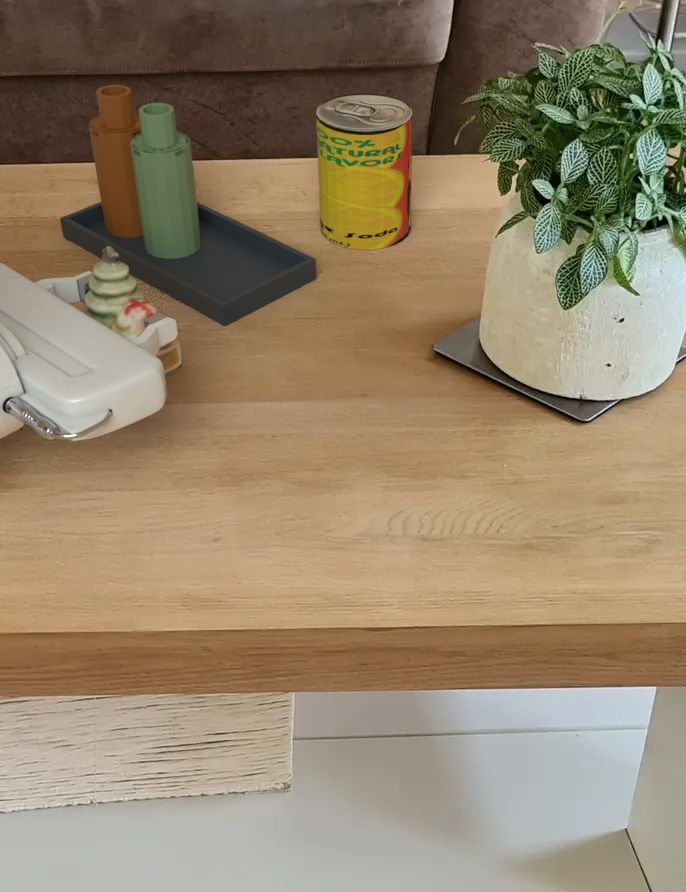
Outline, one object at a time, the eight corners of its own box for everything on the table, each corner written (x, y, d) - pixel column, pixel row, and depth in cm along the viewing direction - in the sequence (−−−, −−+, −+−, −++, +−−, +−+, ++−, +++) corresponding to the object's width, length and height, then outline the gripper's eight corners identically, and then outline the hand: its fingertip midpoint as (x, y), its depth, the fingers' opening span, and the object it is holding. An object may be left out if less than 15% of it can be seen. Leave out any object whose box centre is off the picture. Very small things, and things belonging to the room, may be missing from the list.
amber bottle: (95, 230, 114) (71, 90, 105) (138, 212, 117) (119, 75, 108) (129, 248, 111) (107, 106, 103) (172, 229, 114) (154, 90, 106)
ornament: (198, 367, 90) (185, 251, 83) (140, 405, 85) (121, 286, 79) (124, 333, 93) (106, 220, 87) (64, 368, 89) (41, 251, 83)
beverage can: (392, 256, 112) (393, 137, 104) (305, 239, 114) (300, 122, 106) (422, 215, 118) (425, 101, 111) (340, 200, 120) (337, 87, 113)
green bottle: (134, 251, 111) (113, 109, 102) (177, 232, 114) (160, 93, 105) (170, 270, 108) (151, 126, 100) (212, 250, 111) (198, 109, 103)
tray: (63, 237, 112) (59, 217, 111) (155, 199, 119) (153, 180, 118) (225, 326, 101) (222, 305, 100) (316, 278, 108) (316, 258, 107)
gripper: (51, 407, 71) (225, 319, 79) (-126, 285, 81) (45, 218, 89) (67, 486, 75) (231, 394, 83) (-104, 360, 84) (58, 290, 93)
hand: (133, 302), depth 86 cm, fingers closed on ornament, 7 cm apart
